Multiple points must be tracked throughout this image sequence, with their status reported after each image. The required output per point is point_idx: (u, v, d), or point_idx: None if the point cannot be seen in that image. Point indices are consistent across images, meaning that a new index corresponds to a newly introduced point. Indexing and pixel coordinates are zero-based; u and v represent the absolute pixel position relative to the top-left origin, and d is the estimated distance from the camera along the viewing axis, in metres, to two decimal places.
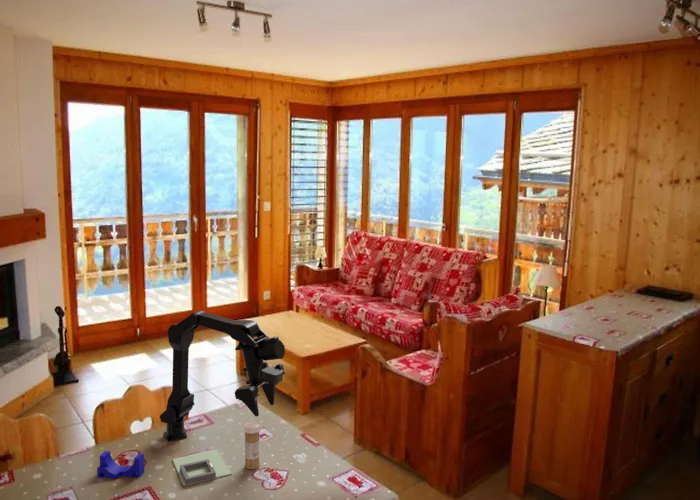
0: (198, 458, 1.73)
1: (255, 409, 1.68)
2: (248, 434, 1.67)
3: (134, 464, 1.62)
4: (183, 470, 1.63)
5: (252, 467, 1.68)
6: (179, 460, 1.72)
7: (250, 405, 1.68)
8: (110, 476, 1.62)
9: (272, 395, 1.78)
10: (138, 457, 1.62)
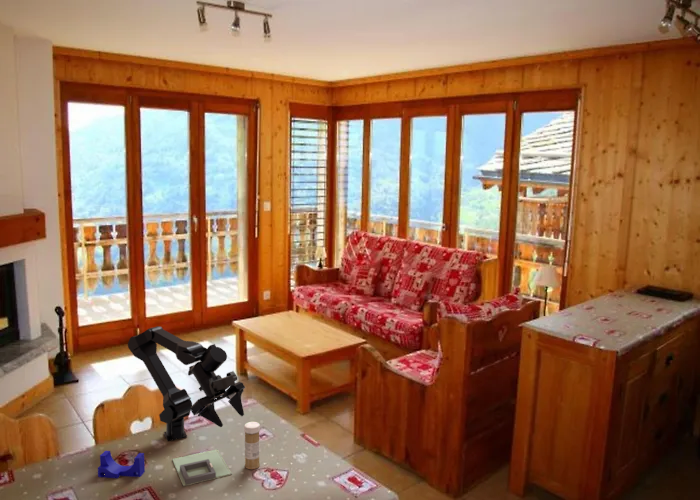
0: (198, 458, 1.73)
1: (216, 419, 1.69)
2: (248, 434, 1.67)
3: (134, 464, 1.62)
4: (183, 470, 1.63)
5: (252, 467, 1.68)
6: (179, 460, 1.72)
7: (211, 417, 1.69)
8: (110, 476, 1.62)
9: (239, 406, 1.77)
10: (138, 457, 1.63)
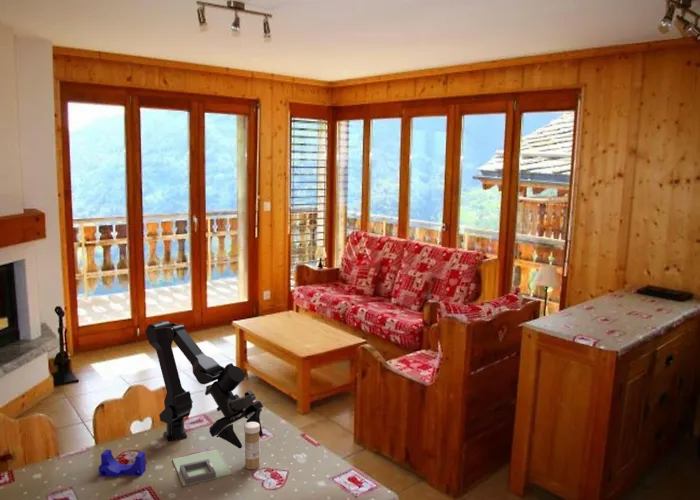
0: (198, 458, 1.73)
1: (235, 440, 1.65)
2: (248, 434, 1.67)
3: (136, 462, 1.63)
4: (183, 470, 1.63)
5: (252, 467, 1.68)
6: (179, 460, 1.72)
7: (230, 439, 1.66)
8: (112, 474, 1.63)
9: None
10: (139, 455, 1.63)
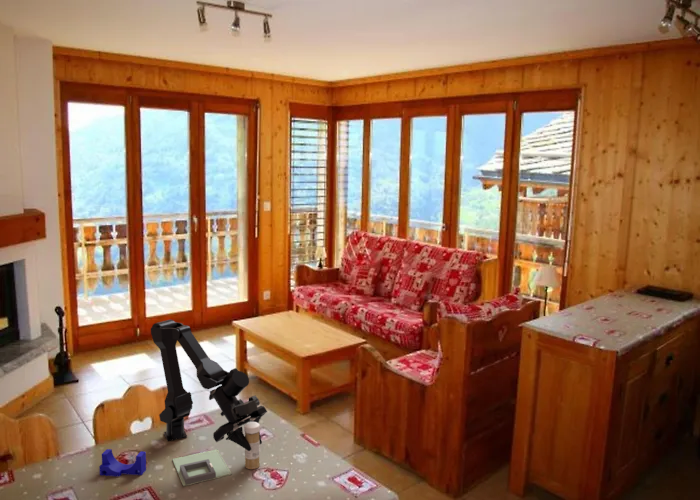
0: (198, 458, 1.73)
1: (245, 443, 1.66)
2: (248, 434, 1.67)
3: (136, 462, 1.63)
4: (183, 470, 1.63)
5: (252, 467, 1.68)
6: (179, 460, 1.72)
7: (239, 441, 1.67)
8: (112, 474, 1.63)
9: None
10: (140, 455, 1.64)
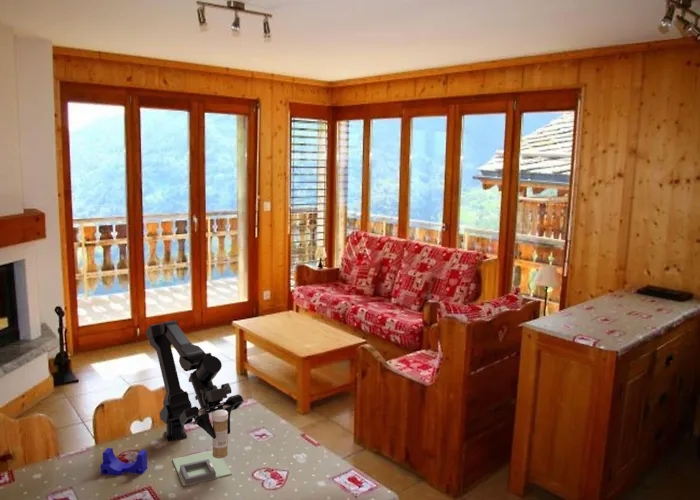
0: (198, 458, 1.73)
1: (210, 430, 1.62)
2: (214, 422, 1.62)
3: (137, 460, 1.64)
4: (183, 470, 1.63)
5: (218, 456, 1.63)
6: (179, 460, 1.72)
7: (205, 427, 1.63)
8: (113, 473, 1.64)
9: (227, 422, 1.66)
10: (141, 453, 1.65)
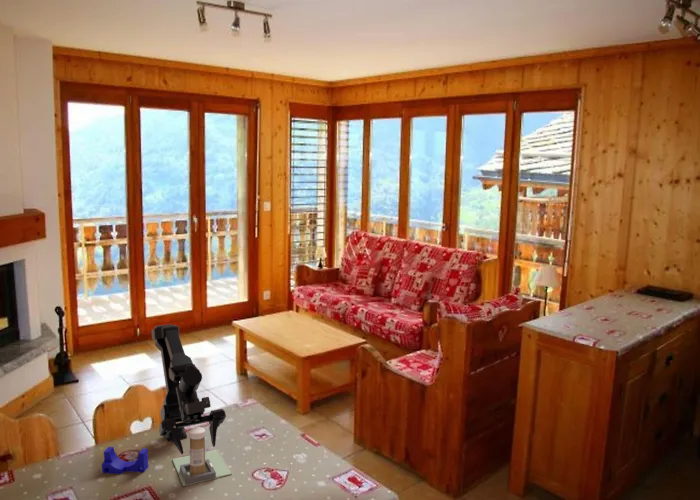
0: None
1: (178, 445, 1.60)
2: (190, 439, 1.62)
3: (138, 459, 1.65)
4: (183, 470, 1.63)
5: (193, 474, 1.62)
6: (179, 460, 1.72)
7: (175, 442, 1.62)
8: (115, 471, 1.64)
9: (213, 435, 1.65)
10: (142, 452, 1.65)
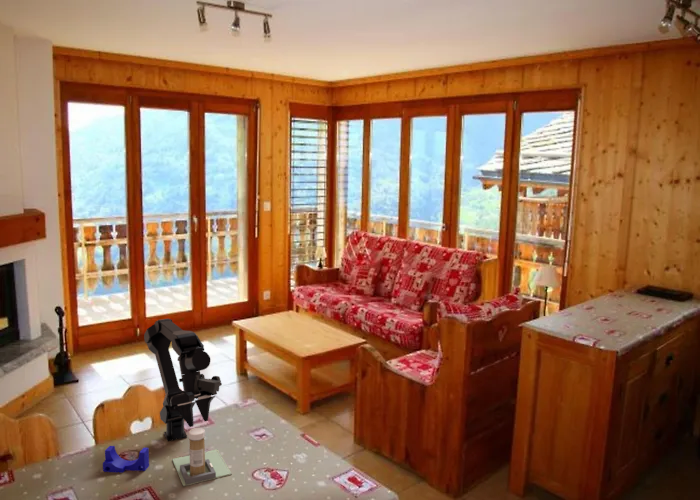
0: None
1: (190, 418, 1.66)
2: (190, 440, 1.62)
3: (139, 458, 1.66)
4: (183, 470, 1.63)
5: (193, 475, 1.62)
6: (179, 460, 1.72)
7: (185, 414, 1.67)
8: (116, 470, 1.65)
9: (207, 410, 1.76)
10: (143, 451, 1.66)
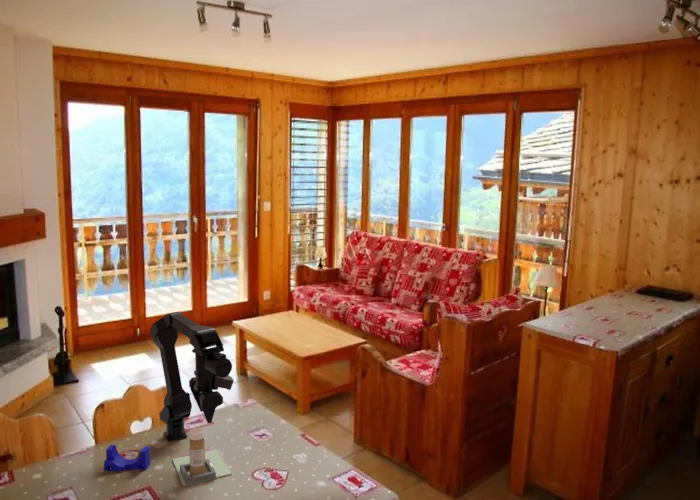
0: None
1: (212, 416, 1.69)
2: (190, 440, 1.62)
3: (140, 457, 1.66)
4: (183, 470, 1.63)
5: (193, 475, 1.62)
6: (179, 460, 1.72)
7: (208, 412, 1.68)
8: (117, 469, 1.66)
9: None
10: (144, 450, 1.67)
